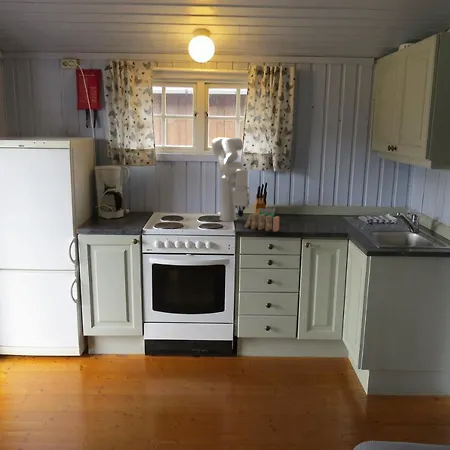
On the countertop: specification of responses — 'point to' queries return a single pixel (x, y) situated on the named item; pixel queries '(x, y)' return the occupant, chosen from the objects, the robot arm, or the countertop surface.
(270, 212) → the food container
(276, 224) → the domino
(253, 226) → the domino
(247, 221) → the domino
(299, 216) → the countertop surface
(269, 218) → the domino
